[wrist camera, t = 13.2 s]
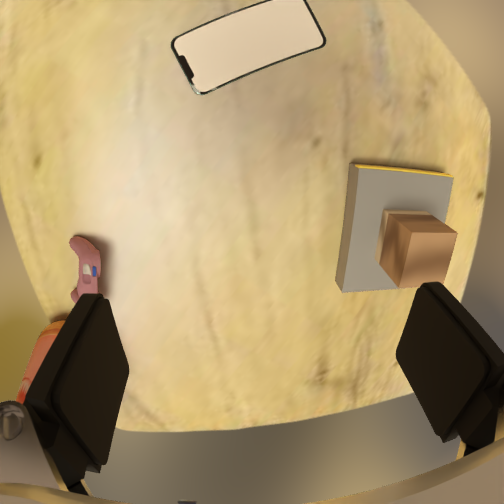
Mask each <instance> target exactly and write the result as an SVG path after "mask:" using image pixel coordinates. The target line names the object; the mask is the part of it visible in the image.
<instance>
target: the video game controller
mask: <svg viewBox="0 0 504 504" xmlns="http://www.w3.org/2000/svg"><path fill="white" fill-rule="evenodd" d="M69 244H70V247H71V248H72V249H73V250H74V251H75V253H76V254H77V255H78V257H79V279H78V283H77V289H75V290H73V291H72V292H71V298H72V300H73V301H74V302H75V303H77V301H78V300H79V298H80V296H81V295H82V294H83V293H98V283H97V278H100V272H101V259H100V252H99V250H97V249H96V248H95V247H94V246H93V245H92V244H91V243H90V242H89V241H87V240H86V239H84V238H82V237H79V236H75V237H73V238H71V239H70V241H69Z"/></svg>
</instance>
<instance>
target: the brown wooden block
mask: <svg viewBox="0 0 504 504" xmlns="http://www.w3.org/2000/svg"><path fill="white" fill-rule="evenodd" d="M457 234H458V233H457V232H456V231H454V230H453V229H451V228H450V227H449V226H447V225H446V224H444V223H443V222H441V221H440V220H439V219H437V218H436V217H434V216H433V215H431V214H430V213H428V212H427V211H416V210H391V209H383V212H382V218H381V224H380V230H379V236H378V242H377V247H376V252H375V257H374V259H375V260H376V261H377V262H378V264H379V265H380V266H381V267H382V268H383V270H384V271H385V272H386V273H387V275H388V276H389V277H390V278H391V279H392V281H393V282H394V283H395V284H396V286H397V287H398V288H408V287H420V286H421V285H422V283H425V282H436V281H438V282H440V283H442V284H443V283H444V280H445V277H446V274H447V270H448V267H449V264H450V260H451V257H452V253H453V249H454V246H455V242H456V238H457Z"/></svg>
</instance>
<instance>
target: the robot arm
mask: <svg viewBox="0 0 504 504" xmlns="http://www.w3.org/2000/svg"><path fill="white" fill-rule="evenodd" d="M396 359H397V361H398V363H399V365H400V367H401V369H402V370H403V372H404V374H405V376H406V378H407V380H408V381H409V383H410V385H411V387H412V389H413V391H414V393H415V395H416V396H417V398H418V400H419V402H420V404H421V406H422V408H423V410H424V412H425V414H426V416H427V418H428V420H429V422H430V424H431V426H432V428H433V430H434V432H435V434H436V435H438V436H440V437H441V439H442V442H443V443H445V442H447V441H450V440H453V439H455V438H456V437H457V436H458V435H459V436H460V438H461V442H460V446H459V450H458V454H457V458H456V461H454V462H451V463H449V464H446V465H444V466H442V467H439V468H437V469H434V470H432V471H429V472H427V473H424V474H421V475H418V476H415V477H412V478H409V479H406V480H403V481H400V482H398V483H394V484H391V485H387V486H384V487H380V488H377V489H373V490H369V491H366V492H361V493H357V494H353V495H348V496H344V497H339V498H335V499H329V500H323V501H318V502H311V503H305V504H504V353H503V352H502V351H501V350H500V348H499V347H498V346H497V345H496V343H495V342H494V341H493V340H492V339H491V338H490V336H489V335H488V334H487V333H486V332H485V331H484V329H483V328H482V327H481V326H480V325H479V323H478V322H477V321H476V320H475V319H474V318H473V317H472V316H471V314H470V313H469V312H468V311H467V310H466V309H465V308H464V307H463V306H462V305H461V303H460V302H459V301H458V300H457V299H456V298H455V297H454V296H453V295H452V294H451V293H450V292H449V291H448V290H447V288H446V287H445V286H444V285H443V284H442V283H440V282H438V281H436V282H425V283H422V285H421V286H420V288H418V289H417V291H416V294H415V297H414V300H413V303H412V306H411V310H410V313H409V316H408V319H407V322H406V324H405V327H404V330H403V333H402V336H401V338H400V341H399V344H398V347H397V349H396ZM128 375H129V365H128V361H127V358H126V355H125V352H124V349H123V346H122V343H121V340H120V337H119V333H118V330H117V327H116V323H115V320H114V316H113V313H112V309H111V306H110V302H109V300H108V299H104V297H103V295H102V294H100V293H83V294H82V295H81V296H80V298H79V300H78V301H77V303H76V304H75V306H74V308H73V309H72V311H71V313H70V314H69V316H68V317H67V319H66V321H65V323H64V324H63V326H62V328H61V329H60V331H59V333H58V335H57V336H56V338H55V340H54V342H53V343H52V345H51V347H50V349H49V351H48V352H47V354H46V356H45V358H44V360H43V362H42V363H41V365H40V367H39V369H38V371H37V373H36V375H35V377H34V379H33V381H32V383H31V385H30V387H29V389H28V391H27V393H26V395H25V400H24V402H23V404H22V403H20V402H17V401H4V402H1V403H0V504H131V503H124V502H117V501H112V500H106V499H101V498H96V497H94V496H93V495H92V493H91V492H90V490H89V488H88V487H87V485H86V483H85V481H84V480H83V479H84V476H85V471H91V472H96V473H100V470H101V465H105V464H106V463H107V460H108V456H109V452H110V447H111V442H112V438H113V434H114V429H115V426H116V421H117V417H118V413H119V409H120V405H121V402H122V398H123V394H124V390H125V386H126V383H127V379H128Z"/></svg>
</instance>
